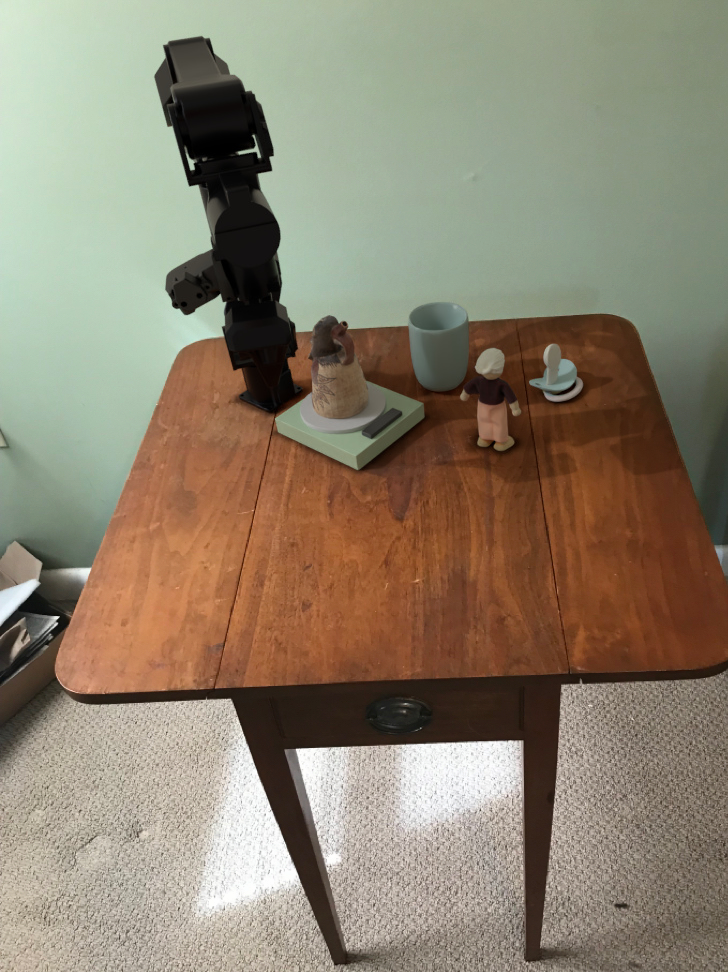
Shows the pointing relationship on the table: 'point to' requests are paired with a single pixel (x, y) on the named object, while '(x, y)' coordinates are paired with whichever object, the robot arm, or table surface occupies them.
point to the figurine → (336, 371)
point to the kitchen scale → (353, 426)
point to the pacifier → (557, 376)
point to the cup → (439, 345)
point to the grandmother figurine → (492, 400)
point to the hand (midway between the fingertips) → (270, 364)
